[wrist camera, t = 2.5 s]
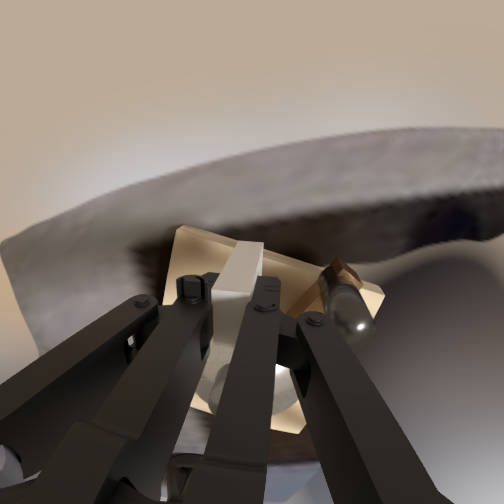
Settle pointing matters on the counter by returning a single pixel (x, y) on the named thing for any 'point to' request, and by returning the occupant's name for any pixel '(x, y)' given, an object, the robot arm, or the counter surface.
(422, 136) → the counter surface
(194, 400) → the stand
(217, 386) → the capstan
